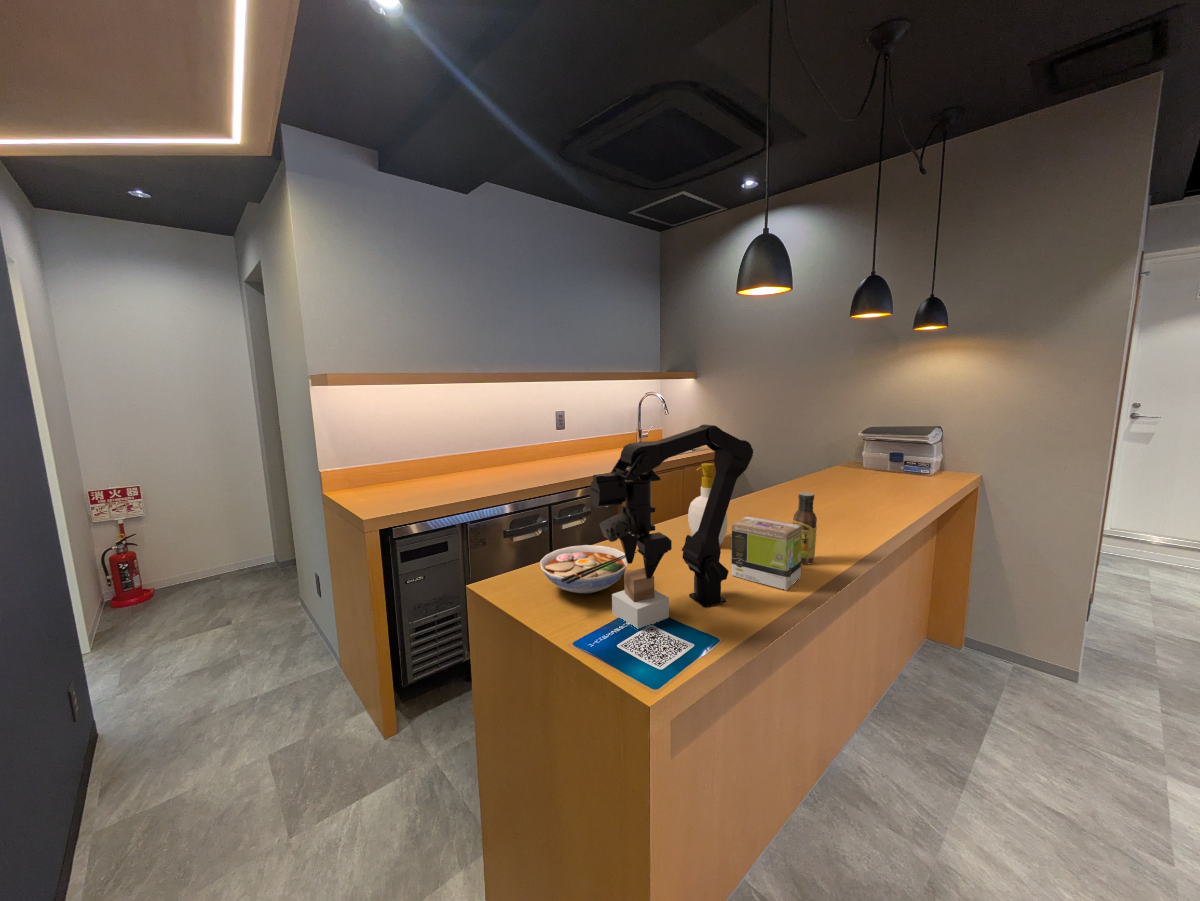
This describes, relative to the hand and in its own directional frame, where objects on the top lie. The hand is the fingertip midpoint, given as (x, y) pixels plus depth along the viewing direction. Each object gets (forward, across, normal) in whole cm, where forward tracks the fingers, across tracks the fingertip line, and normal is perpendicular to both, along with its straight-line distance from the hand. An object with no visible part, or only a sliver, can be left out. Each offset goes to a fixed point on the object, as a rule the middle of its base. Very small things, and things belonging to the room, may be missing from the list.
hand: (638, 570), depth 104 cm
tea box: (+11, -4, +39) cm, 41 cm away
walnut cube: (+6, 0, 0) cm, 6 cm away
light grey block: (+11, 0, 0) cm, 11 cm away
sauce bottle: (+11, -8, +56) cm, 58 cm away
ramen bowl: (+11, -19, -6) cm, 23 cm away
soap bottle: (+11, -32, +40) cm, 52 cm away
